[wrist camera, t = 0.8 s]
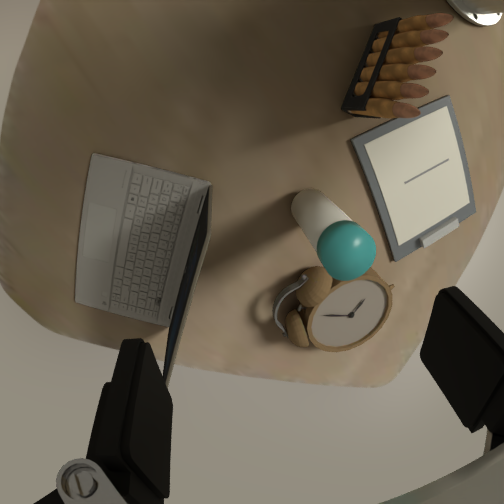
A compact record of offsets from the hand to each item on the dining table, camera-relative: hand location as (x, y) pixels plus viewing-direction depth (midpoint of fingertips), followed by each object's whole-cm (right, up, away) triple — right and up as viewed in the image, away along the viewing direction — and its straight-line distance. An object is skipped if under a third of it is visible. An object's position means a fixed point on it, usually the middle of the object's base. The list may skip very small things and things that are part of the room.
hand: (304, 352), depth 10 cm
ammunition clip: (+10, +21, +18) cm, 29 cm away
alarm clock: (+8, -3, +29) cm, 31 cm away
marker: (+4, +8, +23) cm, 25 cm away
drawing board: (+18, +11, +23) cm, 32 cm away
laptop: (-14, +4, +24) cm, 28 cm away
